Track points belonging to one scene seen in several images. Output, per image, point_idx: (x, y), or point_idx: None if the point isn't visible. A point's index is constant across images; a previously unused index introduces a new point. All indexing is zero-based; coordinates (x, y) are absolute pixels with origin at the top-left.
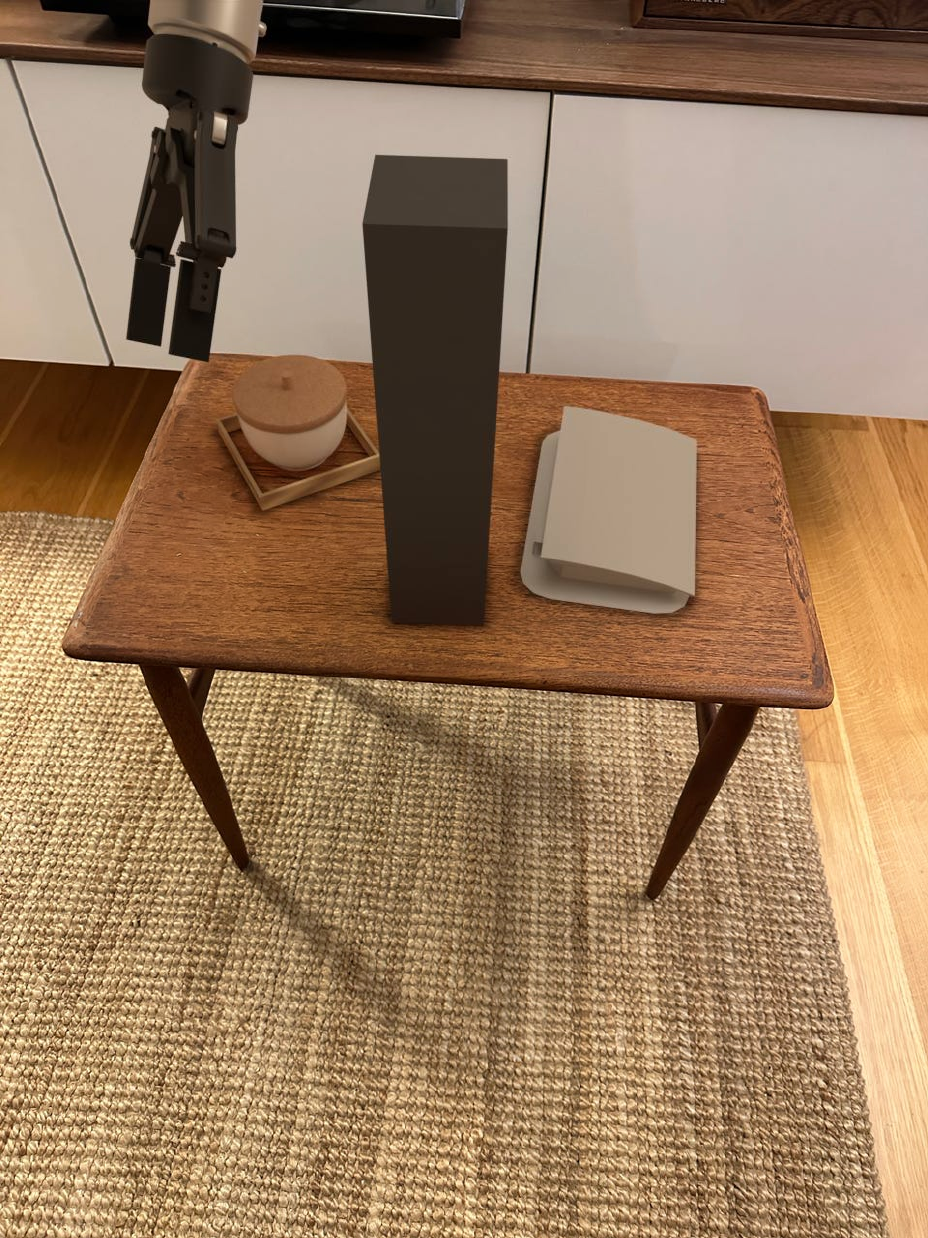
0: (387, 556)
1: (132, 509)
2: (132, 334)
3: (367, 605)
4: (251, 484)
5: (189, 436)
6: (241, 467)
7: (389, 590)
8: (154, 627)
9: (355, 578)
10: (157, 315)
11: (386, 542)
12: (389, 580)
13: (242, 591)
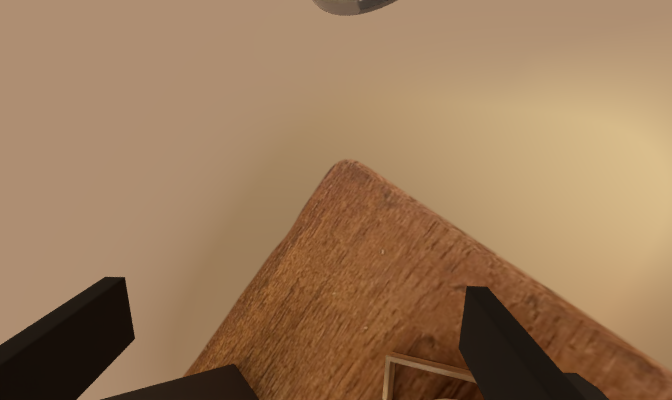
0: (162, 383)
1: (467, 234)
2: (471, 301)
3: (254, 359)
4: (414, 361)
5: (579, 352)
6: (451, 369)
7: (201, 372)
8: (325, 207)
9: (278, 370)
10: (488, 386)
11: (144, 388)
12: (190, 375)
13: (317, 280)
